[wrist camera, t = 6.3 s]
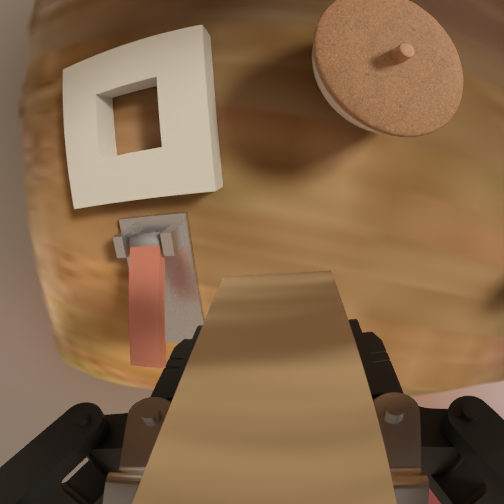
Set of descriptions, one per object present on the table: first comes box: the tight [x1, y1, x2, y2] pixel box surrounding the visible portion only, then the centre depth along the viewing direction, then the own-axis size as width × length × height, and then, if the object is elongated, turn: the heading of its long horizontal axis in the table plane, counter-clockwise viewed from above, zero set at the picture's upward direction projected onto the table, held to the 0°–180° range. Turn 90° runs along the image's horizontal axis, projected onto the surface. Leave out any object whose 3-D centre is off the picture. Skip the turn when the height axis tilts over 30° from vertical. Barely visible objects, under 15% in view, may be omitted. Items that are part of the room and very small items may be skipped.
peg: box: [132, 271, 397, 504], centre depth 7 cm, size 4×4×10 cm
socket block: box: [63, 25, 223, 209], centre depth 22 cm, size 14×14×3 cm
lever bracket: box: [113, 212, 205, 343], centre depth 28 cm, size 14×7×3 cm, turn 5°
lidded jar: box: [312, 0, 463, 137], centre depth 16 cm, size 11×11×9 cm
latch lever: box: [129, 232, 166, 368], centre depth 25 cm, size 12×3×2 cm
